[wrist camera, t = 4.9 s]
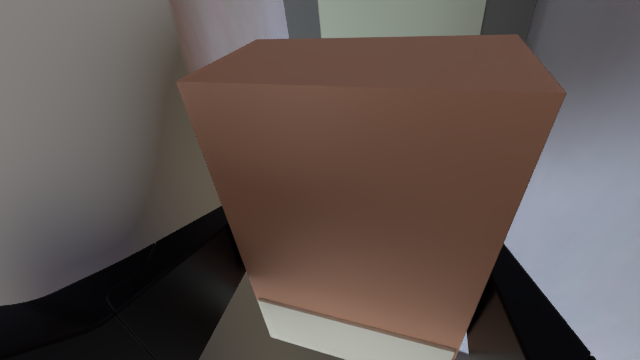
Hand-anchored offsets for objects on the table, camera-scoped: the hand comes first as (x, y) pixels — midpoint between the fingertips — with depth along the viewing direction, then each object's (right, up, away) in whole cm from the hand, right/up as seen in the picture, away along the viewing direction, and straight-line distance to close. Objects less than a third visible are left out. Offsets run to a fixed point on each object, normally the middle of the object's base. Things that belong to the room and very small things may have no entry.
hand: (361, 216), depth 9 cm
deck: (0, +1, +1) cm, 1 cm away
